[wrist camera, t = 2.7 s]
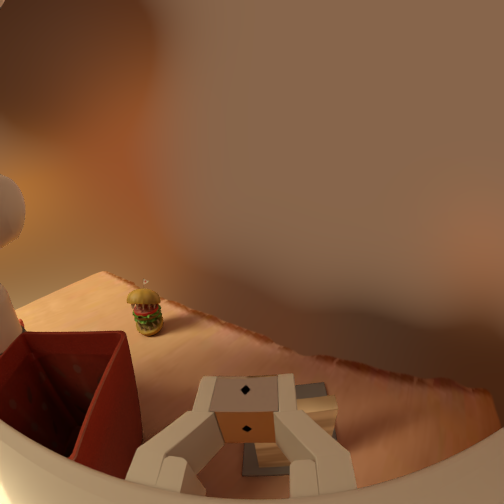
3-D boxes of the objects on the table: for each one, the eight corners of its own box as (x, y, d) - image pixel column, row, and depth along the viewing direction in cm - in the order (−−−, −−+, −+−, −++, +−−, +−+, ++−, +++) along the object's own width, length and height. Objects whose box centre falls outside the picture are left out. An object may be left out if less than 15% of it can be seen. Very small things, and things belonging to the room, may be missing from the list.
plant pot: (67, 409, 32) (21, 329, 27) (166, 417, 34) (127, 328, 28) (35, 492, 14) (-45, 414, 9) (155, 527, 15) (71, 468, 10)
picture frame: (325, 462, 24) (338, 408, 20) (259, 467, 25) (249, 416, 21) (323, 449, 26) (334, 392, 22) (259, 454, 27) (250, 399, 23)
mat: (341, 467, 23) (342, 466, 23) (242, 476, 24) (242, 475, 24) (323, 383, 38) (324, 382, 38) (248, 389, 39) (248, 388, 39)
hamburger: (131, 336, 55) (115, 289, 51) (145, 320, 61) (132, 275, 58) (160, 340, 53) (145, 290, 50) (172, 322, 60) (161, 275, 56)
